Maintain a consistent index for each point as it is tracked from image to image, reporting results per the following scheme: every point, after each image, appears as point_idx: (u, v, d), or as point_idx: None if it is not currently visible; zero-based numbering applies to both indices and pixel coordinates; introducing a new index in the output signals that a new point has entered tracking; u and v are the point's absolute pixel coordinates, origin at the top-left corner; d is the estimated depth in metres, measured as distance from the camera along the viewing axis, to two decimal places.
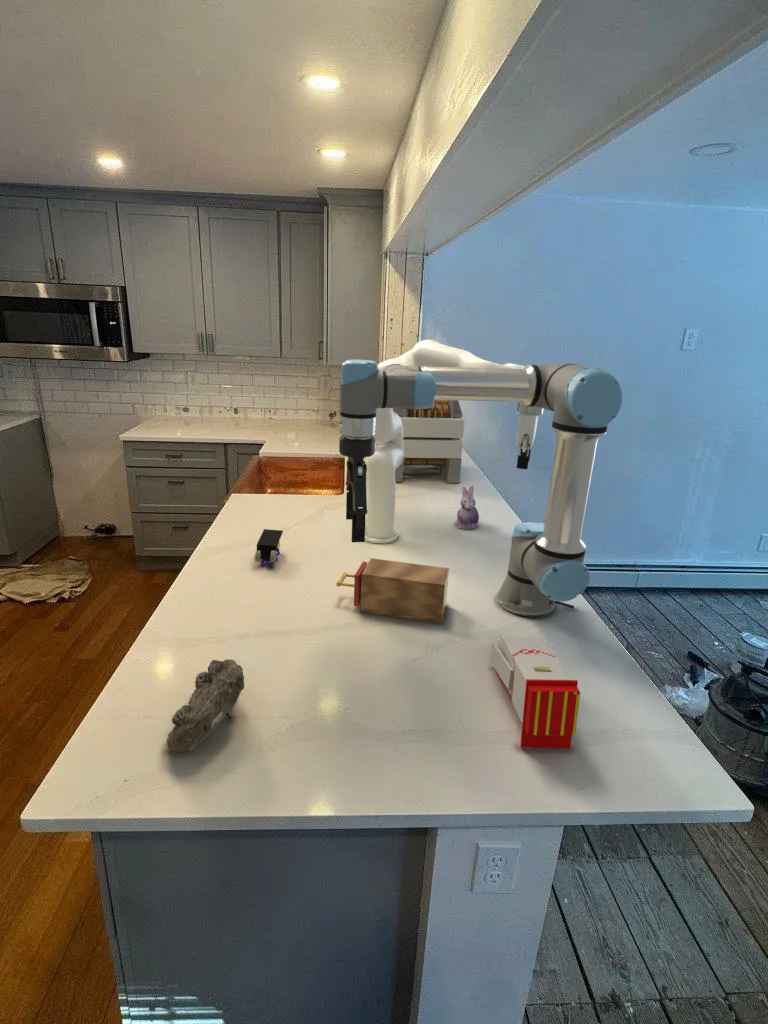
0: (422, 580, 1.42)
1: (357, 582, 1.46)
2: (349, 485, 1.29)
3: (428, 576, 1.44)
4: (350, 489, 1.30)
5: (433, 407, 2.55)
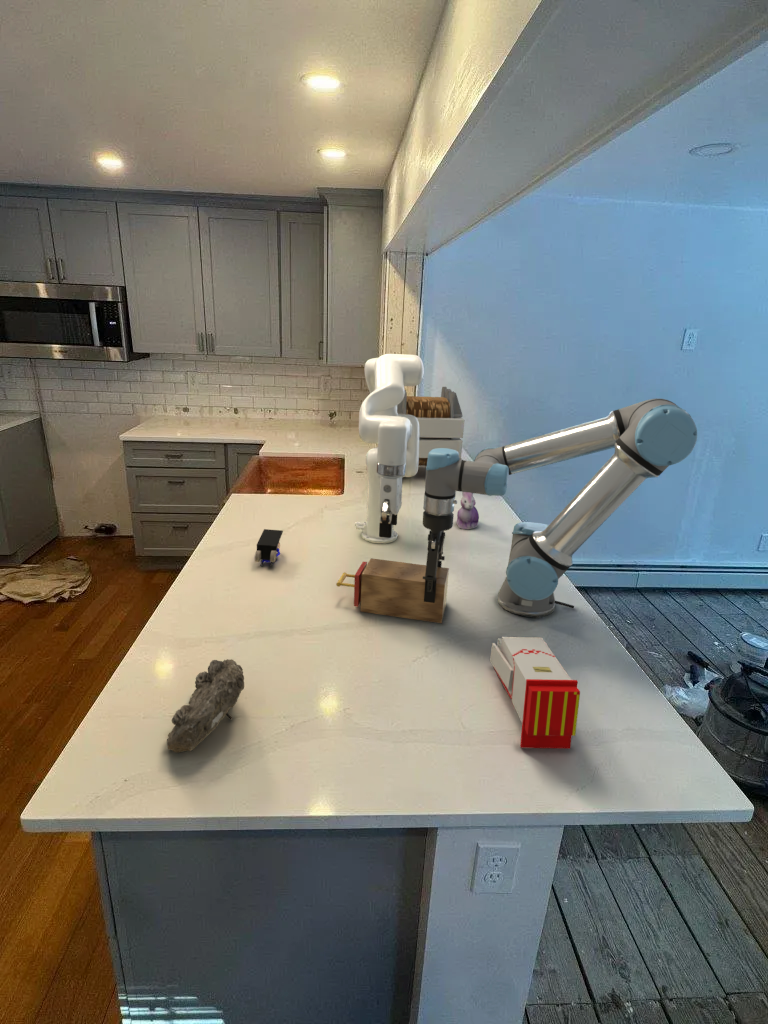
0: (422, 580, 1.42)
1: (357, 582, 1.46)
2: None
3: None
4: None
5: (433, 407, 2.55)
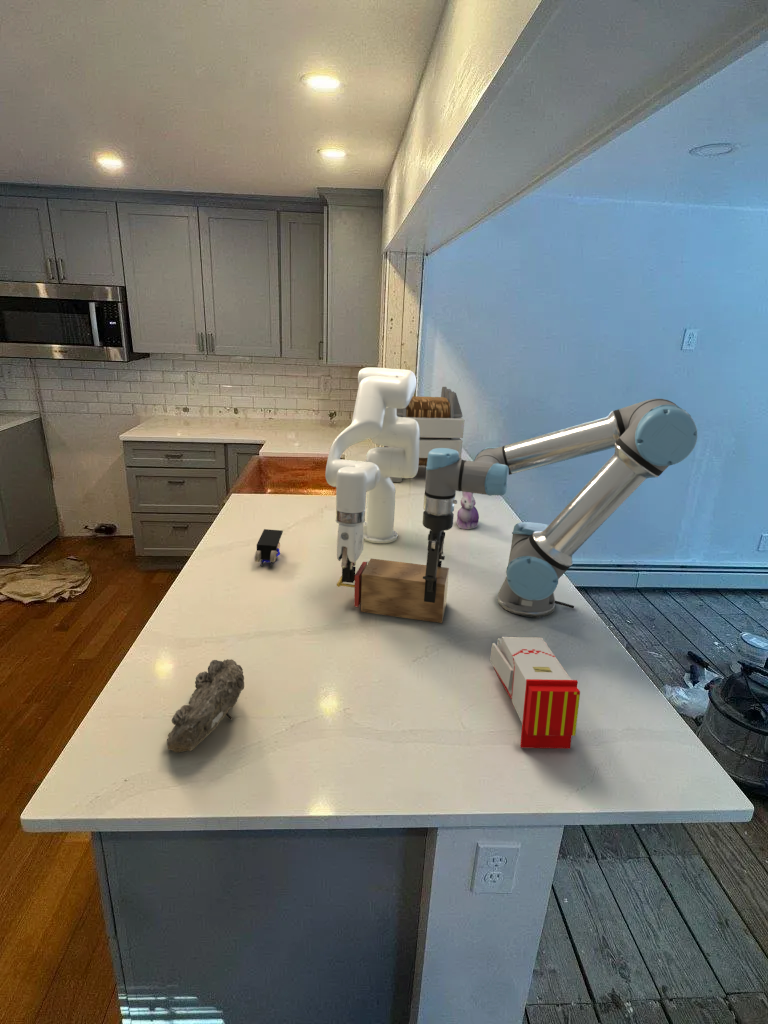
0: (422, 580, 1.42)
1: (357, 582, 1.46)
2: None
3: None
4: None
5: (433, 407, 2.55)
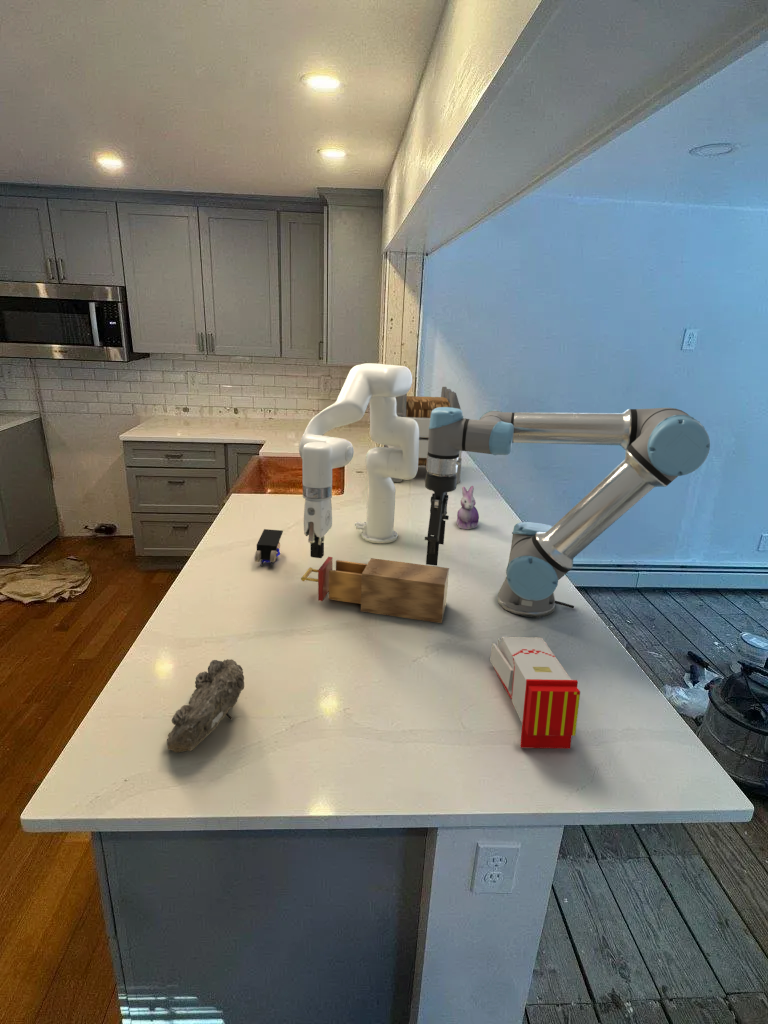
0: (422, 580, 1.42)
1: (321, 577, 1.48)
2: None
3: (428, 576, 1.44)
4: None
5: (433, 407, 2.55)
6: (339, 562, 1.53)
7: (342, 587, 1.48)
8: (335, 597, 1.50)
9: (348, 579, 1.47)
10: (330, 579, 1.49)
